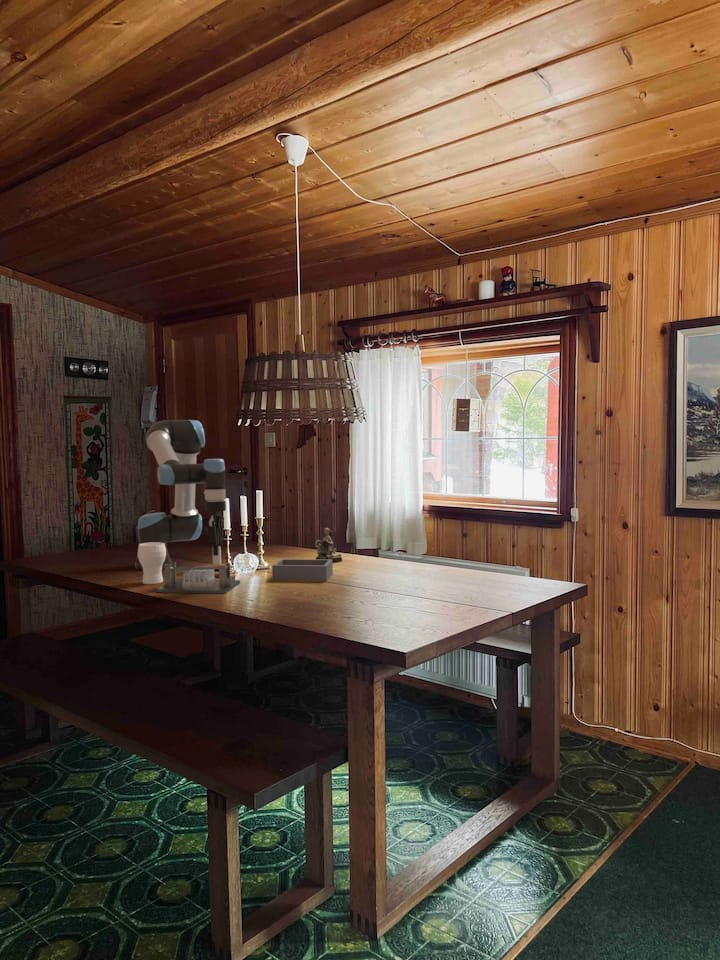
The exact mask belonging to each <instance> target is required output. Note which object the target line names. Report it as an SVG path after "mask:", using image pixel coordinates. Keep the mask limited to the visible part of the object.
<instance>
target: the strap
mask: <svg viewBox="0 0 720 960" xmlns="http://www.w3.org/2000/svg"><path fill="white" fill-rule="evenodd" d="M219 565H226V568H228V565H227V564H223V563H221V564H213V565H195V566H193V565H192V566H191V565H190V566H176V567H174V566H171V571H176V572H177V571H189V570H206V569H209V570H211V569H214V570H219Z"/></svg>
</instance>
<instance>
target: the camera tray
mask: <svg viewBox="0 0 720 960" xmlns="http://www.w3.org/2000/svg"><path fill="white" fill-rule="evenodd" d="M333 564H334V563H333V561H332V560H329V559H316V558H314V559H313V558H312V559H310V558H308V559H307V558H303V559H302V558H301V559H297V558H280V559H279V560H278V561H276V562H275V563H273V564H272V565H271V569H272V570H271V572H272V573H271V575H272V576H271V577H272V579H271V580H272V582H327V581H328V580H330V578H331V577H332V576H333V574H334V573H333V572H334V571H333V570H334V569H333V568H334V567H333V566H334V565H333Z"/></svg>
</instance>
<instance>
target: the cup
mask: <svg viewBox="0 0 720 960" xmlns="http://www.w3.org/2000/svg"><path fill="white" fill-rule="evenodd" d="M137 548H138V549H137V555H138V559H139V562H140V563H141V565H142V567H143V570H142V572H143V575H142V584H144V585H154V584H161V583H163V582H164V577H163V573H162V571H163V569H162V565H163V563H164V561H165V557H166V548H165V544H164V543H161V542H150V543H142V544H139V543H138V547H137Z"/></svg>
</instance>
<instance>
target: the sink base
mask: <svg viewBox="0 0 720 960" xmlns="http://www.w3.org/2000/svg"><path fill="white" fill-rule="evenodd" d="M222 564H227V565H228V568H226V565H219V569H218V579H216V577H215V569H205V570H186V571H185V572H183V573H182V579H178V578H177V571H171V566H174V567H177V561H171V562H170V564H165V569H164V584H163V585H161V586H160V587H158V588H156V589H155V592H162V594H165V593H167V594H168V593H169V594H171V593H173V594H216V595H217V594H219V595H221V594H223V595H225V594H227V593H229V592H230V591H231V590H233V589H234V588H236V587H237V586H239V585H240V584H241V580H240V579H236V575H231V562H223V563H222Z"/></svg>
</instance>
